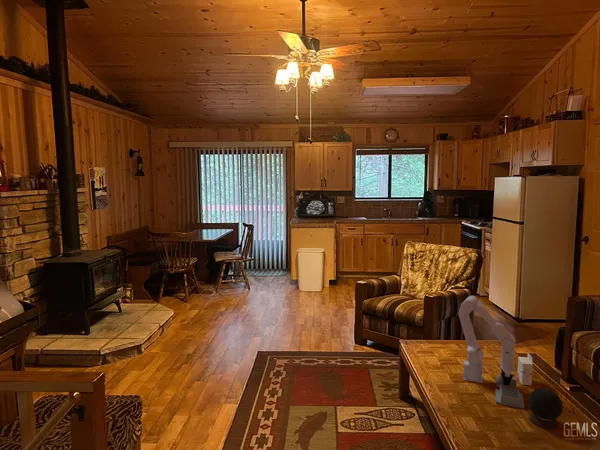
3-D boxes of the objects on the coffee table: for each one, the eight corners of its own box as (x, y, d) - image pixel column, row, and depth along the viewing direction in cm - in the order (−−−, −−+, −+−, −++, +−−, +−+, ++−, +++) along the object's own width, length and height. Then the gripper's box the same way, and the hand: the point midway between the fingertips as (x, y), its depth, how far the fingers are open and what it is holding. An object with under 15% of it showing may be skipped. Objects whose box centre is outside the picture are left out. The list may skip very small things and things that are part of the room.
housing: (496, 387, 218) (496, 376, 217) (496, 383, 221) (496, 373, 221) (515, 390, 214) (516, 379, 213) (515, 387, 218) (516, 376, 217)
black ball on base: (547, 433, 178) (549, 400, 176) (520, 417, 190) (522, 385, 188) (568, 426, 183) (570, 393, 181) (540, 411, 195) (542, 380, 193)
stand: (495, 403, 202) (496, 394, 201) (495, 390, 214) (495, 382, 213) (524, 408, 197) (524, 400, 197) (522, 395, 209) (522, 387, 208)
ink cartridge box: (516, 377, 228) (518, 351, 226) (526, 378, 227) (528, 351, 225) (521, 384, 219) (523, 357, 218) (531, 385, 219) (533, 358, 217)
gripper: (517, 366, 208) (515, 392, 209) (515, 354, 221) (513, 379, 222) (501, 363, 211) (499, 389, 212) (500, 352, 224) (499, 376, 225)
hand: (506, 384), depth 217 cm, fingers open, 5 cm apart
